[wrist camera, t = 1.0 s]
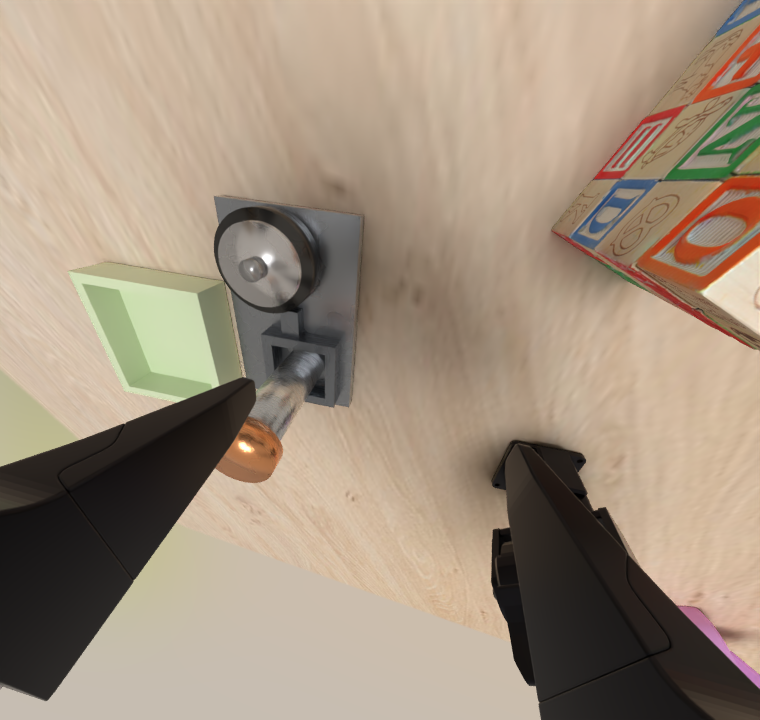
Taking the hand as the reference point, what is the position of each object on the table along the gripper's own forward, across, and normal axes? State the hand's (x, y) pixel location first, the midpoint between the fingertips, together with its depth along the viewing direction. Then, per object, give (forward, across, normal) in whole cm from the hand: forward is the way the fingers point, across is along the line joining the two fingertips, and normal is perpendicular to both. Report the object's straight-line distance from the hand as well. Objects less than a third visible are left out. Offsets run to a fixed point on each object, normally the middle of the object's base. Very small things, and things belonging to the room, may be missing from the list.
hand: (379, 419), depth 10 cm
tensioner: (+14, +9, +4) cm, 17 cm away
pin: (+12, +8, +8) cm, 16 cm away
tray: (+14, +20, +8) cm, 26 cm away
